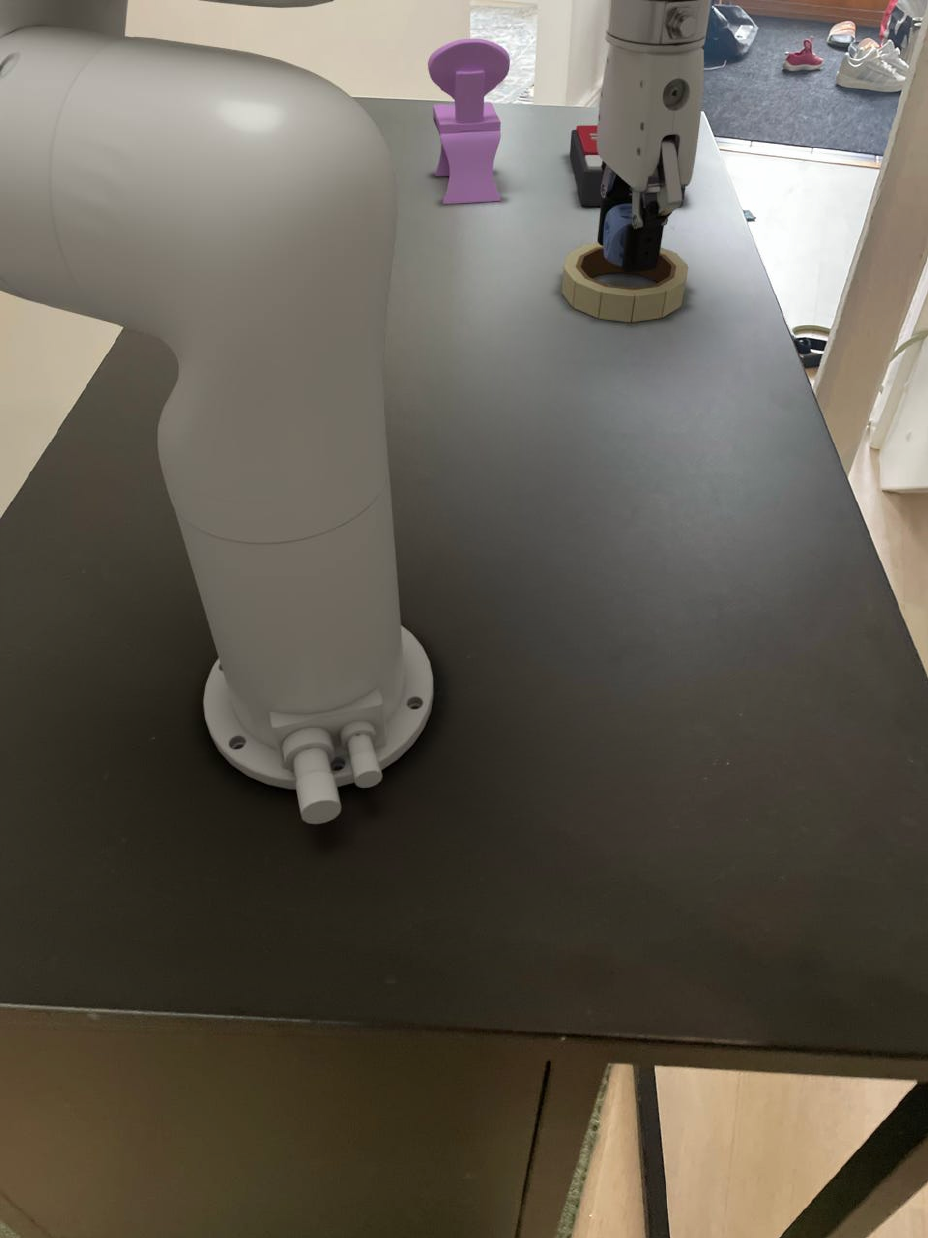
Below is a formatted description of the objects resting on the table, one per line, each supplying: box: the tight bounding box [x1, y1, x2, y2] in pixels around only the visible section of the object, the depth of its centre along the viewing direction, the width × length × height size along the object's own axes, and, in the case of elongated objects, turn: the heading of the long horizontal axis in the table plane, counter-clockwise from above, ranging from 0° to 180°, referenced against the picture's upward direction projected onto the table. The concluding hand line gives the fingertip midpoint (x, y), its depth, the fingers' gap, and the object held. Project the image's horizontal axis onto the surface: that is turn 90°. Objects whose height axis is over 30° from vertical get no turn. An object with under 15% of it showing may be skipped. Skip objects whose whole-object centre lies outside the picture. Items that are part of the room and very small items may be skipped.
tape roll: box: [561, 241, 689, 323], centre depth 83 cm, size 11×11×2 cm
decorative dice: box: [603, 204, 647, 266], centre depth 80 cm, size 4×4×4 cm
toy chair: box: [427, 38, 511, 205], centre depth 96 cm, size 8×9×15 cm
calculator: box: [569, 124, 686, 207], centre depth 101 cm, size 11×4×15 cm
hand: (626, 253), depth 81 cm, fingers closed on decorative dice, 4 cm apart
